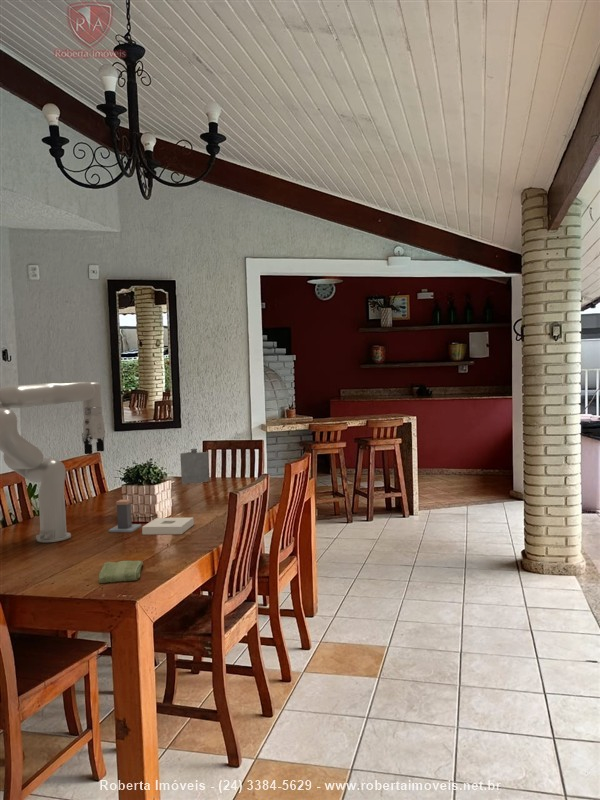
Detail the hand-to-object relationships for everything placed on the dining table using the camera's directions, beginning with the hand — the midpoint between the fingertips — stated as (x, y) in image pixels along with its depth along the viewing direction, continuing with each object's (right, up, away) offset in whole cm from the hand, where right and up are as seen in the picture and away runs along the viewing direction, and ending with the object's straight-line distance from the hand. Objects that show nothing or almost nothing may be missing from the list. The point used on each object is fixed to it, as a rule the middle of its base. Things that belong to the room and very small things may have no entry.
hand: (94, 452), depth 278 cm
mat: (+14, -31, -6) cm, 35 cm away
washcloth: (+29, -34, -68) cm, 81 cm away
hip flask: (+26, -26, +103) cm, 109 cm away
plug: (+14, -30, -6) cm, 34 cm away
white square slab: (+33, -30, -10) cm, 46 cm away
